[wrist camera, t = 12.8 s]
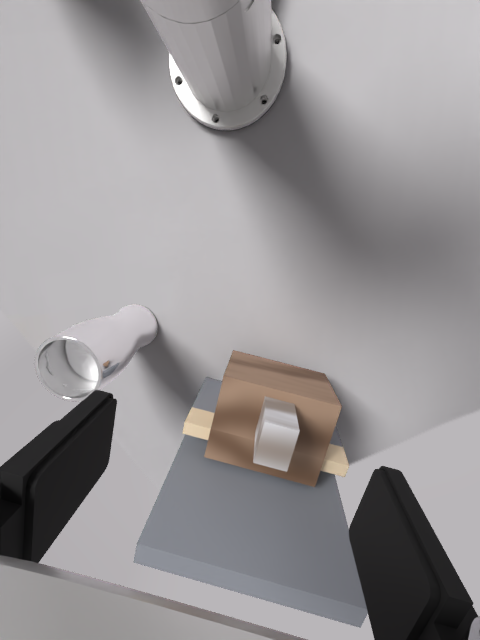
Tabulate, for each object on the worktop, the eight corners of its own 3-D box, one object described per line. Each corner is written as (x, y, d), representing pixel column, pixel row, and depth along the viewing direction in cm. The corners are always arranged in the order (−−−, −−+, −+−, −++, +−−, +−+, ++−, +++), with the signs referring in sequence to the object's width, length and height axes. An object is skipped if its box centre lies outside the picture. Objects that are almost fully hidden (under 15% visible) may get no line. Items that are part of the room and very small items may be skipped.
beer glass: (164, 307, 42) (107, 344, 27) (157, 353, 44) (99, 411, 29) (115, 295, 42) (32, 325, 27) (110, 342, 44) (30, 393, 29)
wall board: (206, 377, 44) (143, 508, 23) (330, 409, 43) (386, 576, 22) (198, 410, 45) (133, 562, 24) (318, 442, 44) (360, 627, 23)
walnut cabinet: (233, 350, 39) (215, 397, 26) (324, 373, 39) (356, 434, 25) (217, 415, 41) (192, 491, 28) (304, 438, 41) (323, 527, 27)
